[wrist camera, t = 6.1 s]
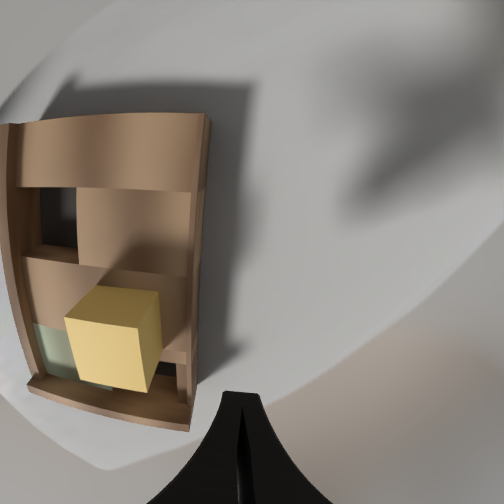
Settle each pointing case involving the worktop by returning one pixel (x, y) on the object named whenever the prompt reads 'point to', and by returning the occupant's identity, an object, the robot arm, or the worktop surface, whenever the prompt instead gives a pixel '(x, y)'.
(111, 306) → the ochre block
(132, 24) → the worktop surface
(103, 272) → the box
